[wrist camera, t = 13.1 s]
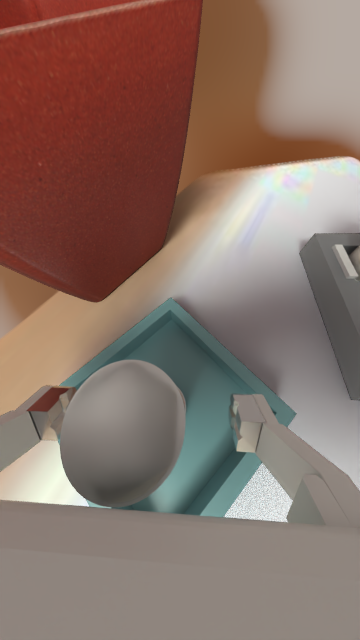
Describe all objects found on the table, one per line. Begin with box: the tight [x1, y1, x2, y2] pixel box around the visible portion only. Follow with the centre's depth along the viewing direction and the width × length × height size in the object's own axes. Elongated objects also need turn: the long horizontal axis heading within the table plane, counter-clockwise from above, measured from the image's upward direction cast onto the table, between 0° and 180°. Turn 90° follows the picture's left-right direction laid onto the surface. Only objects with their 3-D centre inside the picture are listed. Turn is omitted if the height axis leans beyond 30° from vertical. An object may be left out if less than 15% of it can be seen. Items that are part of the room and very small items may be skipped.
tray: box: [58, 298, 296, 517], centre depth 14 cm, size 14×14×3 cm
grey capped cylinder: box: [60, 360, 186, 508], centre depth 10 cm, size 4×4×10 cm
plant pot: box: [0, 0, 203, 302], centre depth 16 cm, size 19×19×17 cm
